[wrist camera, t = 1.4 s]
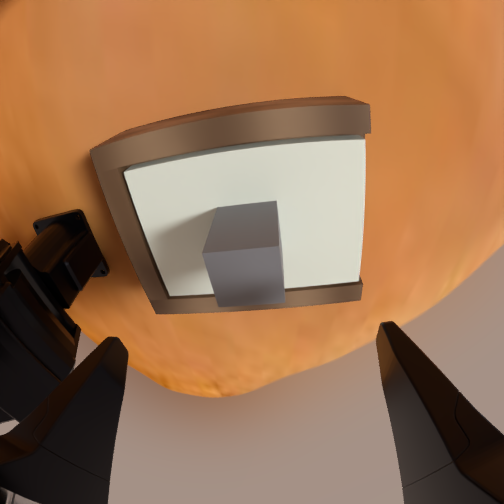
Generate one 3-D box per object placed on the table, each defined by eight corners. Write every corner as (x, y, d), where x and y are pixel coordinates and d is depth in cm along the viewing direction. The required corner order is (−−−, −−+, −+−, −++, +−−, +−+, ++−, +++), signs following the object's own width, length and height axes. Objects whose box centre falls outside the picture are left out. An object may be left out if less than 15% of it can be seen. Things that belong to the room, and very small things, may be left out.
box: (171, 274, 23) (156, 314, 20) (124, 130, 16) (89, 150, 13) (347, 259, 21) (360, 300, 18) (345, 96, 15) (369, 104, 11)
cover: (173, 285, 19) (153, 344, 15) (131, 165, 14) (83, 207, 10) (355, 270, 18) (374, 331, 14) (359, 134, 13) (399, 167, 9)
